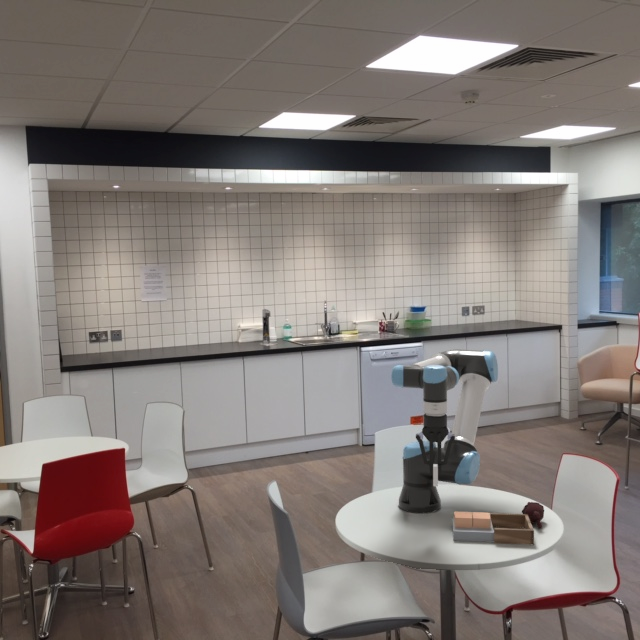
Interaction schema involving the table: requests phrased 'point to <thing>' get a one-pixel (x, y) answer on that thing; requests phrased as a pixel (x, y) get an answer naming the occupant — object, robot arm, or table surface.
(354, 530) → the table surface
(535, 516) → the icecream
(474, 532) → the board
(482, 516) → the tile
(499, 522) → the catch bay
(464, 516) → the tile
